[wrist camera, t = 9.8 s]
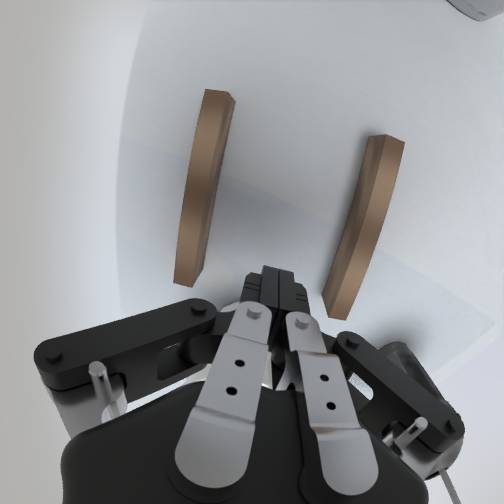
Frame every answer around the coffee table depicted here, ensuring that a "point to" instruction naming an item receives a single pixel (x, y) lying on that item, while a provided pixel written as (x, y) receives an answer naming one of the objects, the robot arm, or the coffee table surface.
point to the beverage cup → (415, 370)
